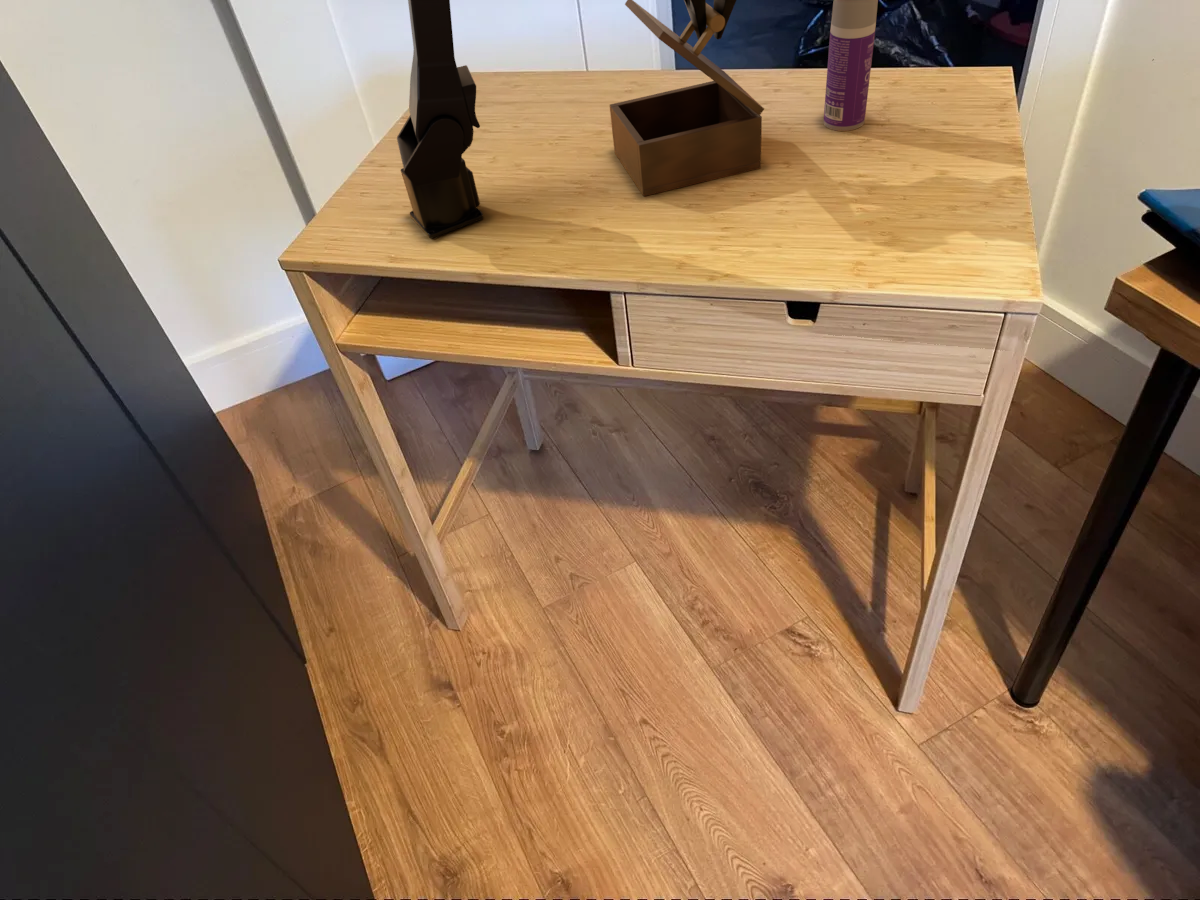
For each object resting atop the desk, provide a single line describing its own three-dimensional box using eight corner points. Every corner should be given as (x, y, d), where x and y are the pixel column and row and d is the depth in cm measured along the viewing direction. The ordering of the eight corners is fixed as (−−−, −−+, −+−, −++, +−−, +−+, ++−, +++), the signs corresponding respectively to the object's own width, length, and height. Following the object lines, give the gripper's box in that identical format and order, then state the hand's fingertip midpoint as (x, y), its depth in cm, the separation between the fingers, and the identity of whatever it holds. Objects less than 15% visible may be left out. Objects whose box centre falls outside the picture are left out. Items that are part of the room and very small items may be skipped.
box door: (658, 38, 78) (690, -11, 76) (624, 4, 86) (652, -42, 84) (759, 115, 86) (791, 73, 84) (719, 77, 94) (748, 38, 92)
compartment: (643, 196, 89) (639, 145, 85) (614, 153, 97) (609, 104, 93) (760, 168, 90) (762, 116, 86) (722, 127, 98) (722, 78, 94)
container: (868, 128, 94) (885, -15, 83) (826, 133, 94) (838, -10, 84) (860, 111, 97) (875, -29, 87) (819, 115, 98) (830, -24, 87)
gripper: (767, -172, 81) (763, 0, 92) (585, -137, 79) (603, 34, 90) (817, -156, 73) (806, 30, 84) (617, -116, 71) (632, 68, 82)
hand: (709, 39), depth 85 cm, fingers closed on box door
